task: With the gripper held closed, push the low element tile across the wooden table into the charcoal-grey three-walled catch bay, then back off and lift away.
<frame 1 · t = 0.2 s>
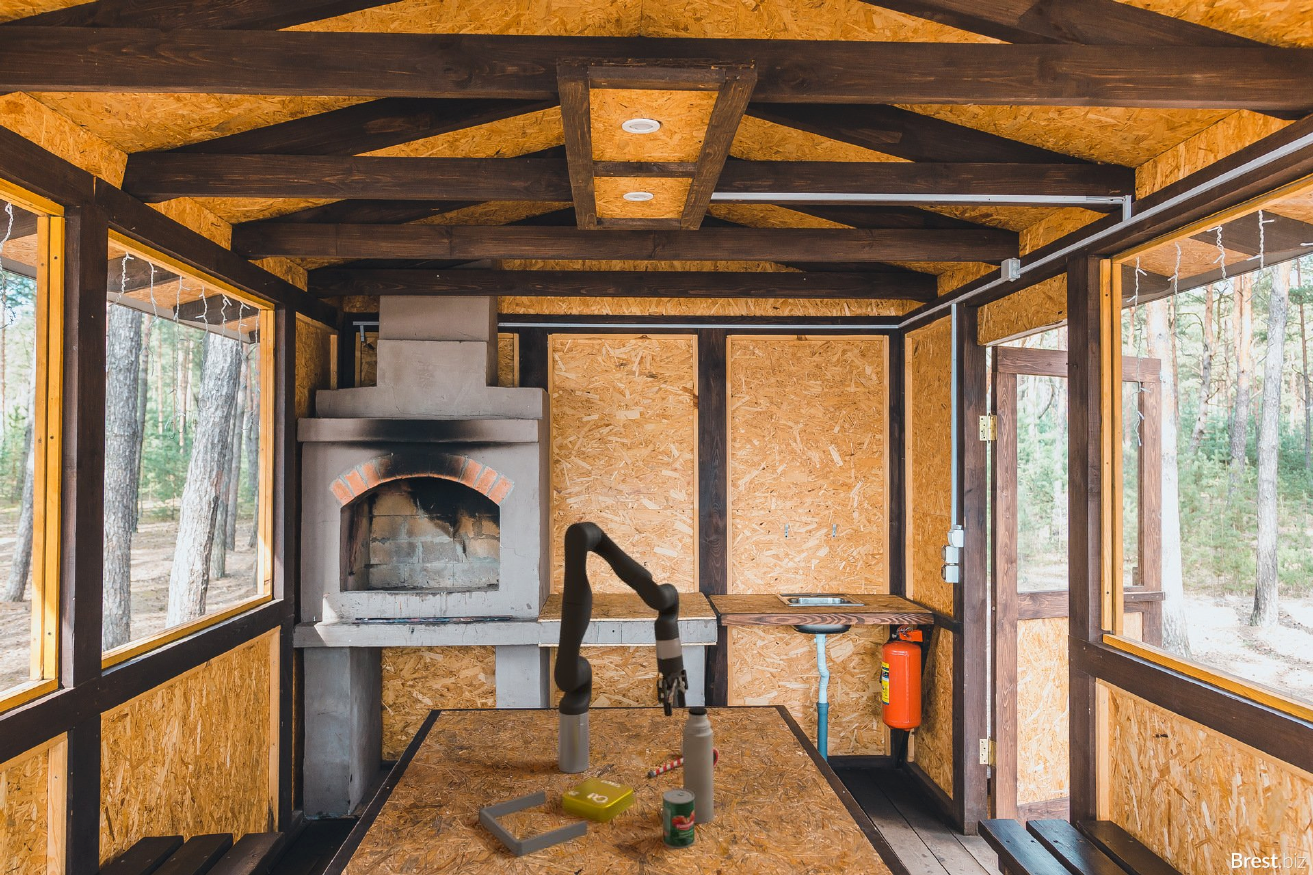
hand: (675, 711, 219), 22 cm above the table, fingers open, 8 cm apart
catch bay: (531, 827, 196), on the table
element tile: (598, 808, 208), on the table
thermos bottle: (698, 817, 202), on the table
canned tomato: (678, 841, 189), on the table
toy hammer: (685, 768, 235), on the table
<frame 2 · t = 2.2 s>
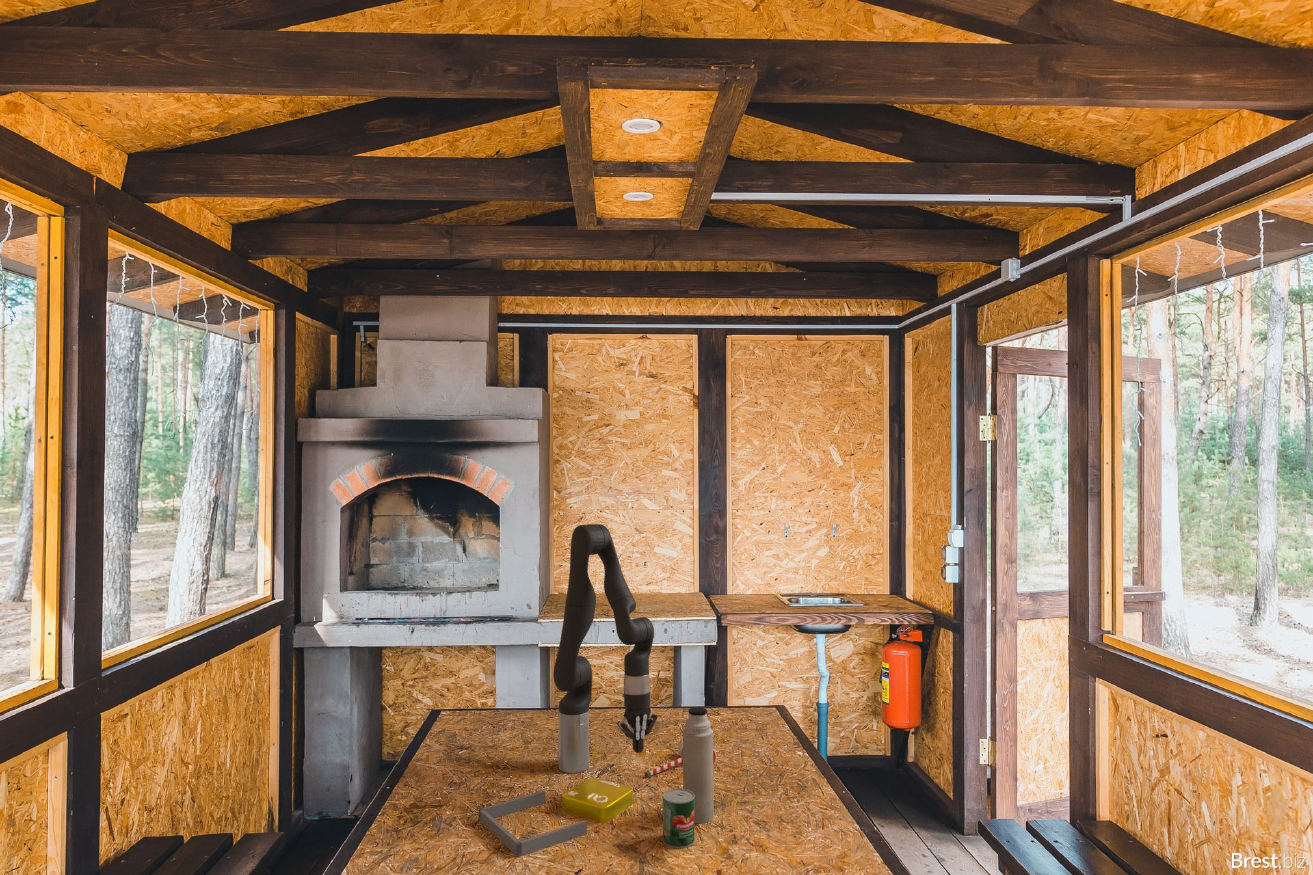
hand: (638, 751, 216), 12 cm above the table, fingers closed
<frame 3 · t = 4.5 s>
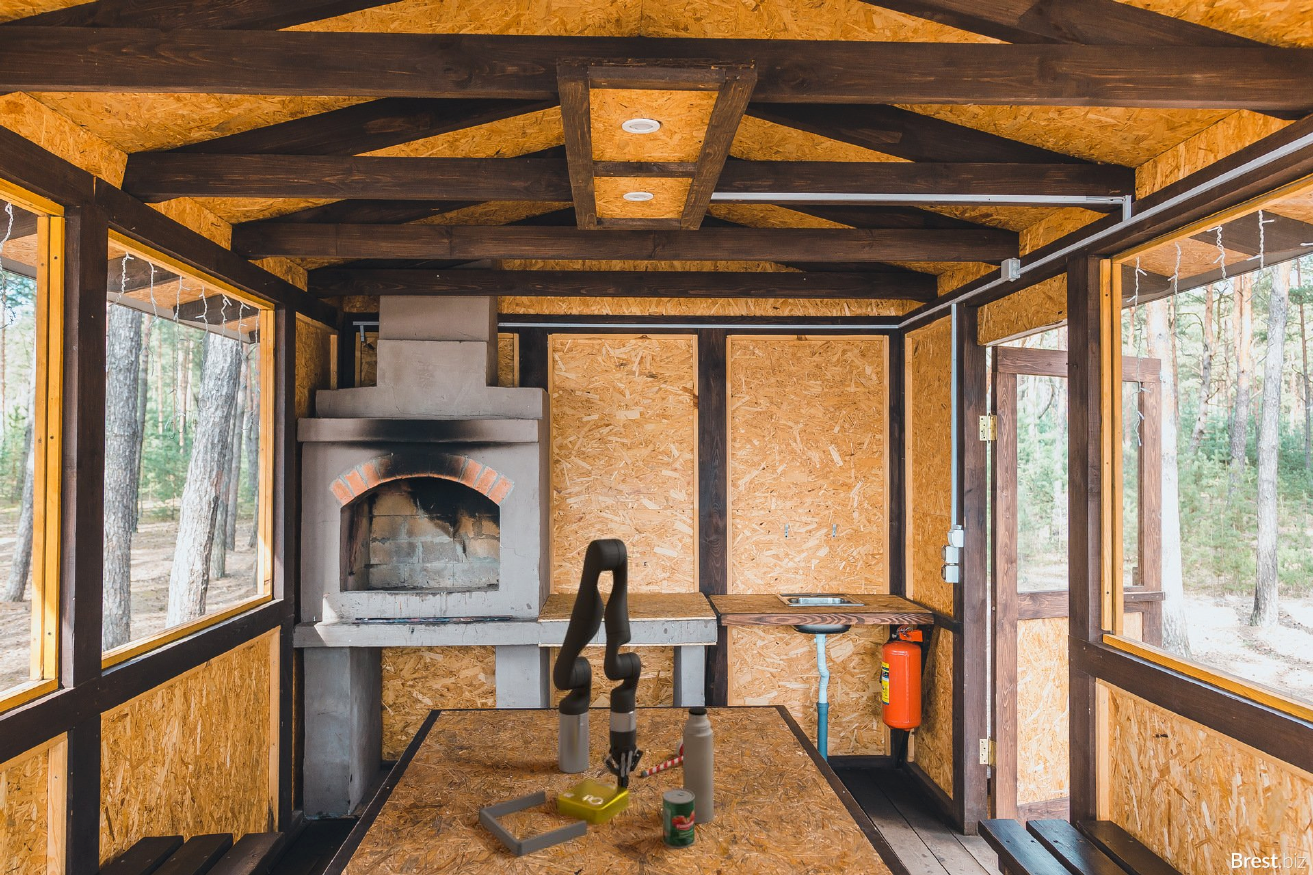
hand: (623, 788, 213), 3 cm above the table, fingers closed
element tile: (593, 809, 207), on the table, touching gripper
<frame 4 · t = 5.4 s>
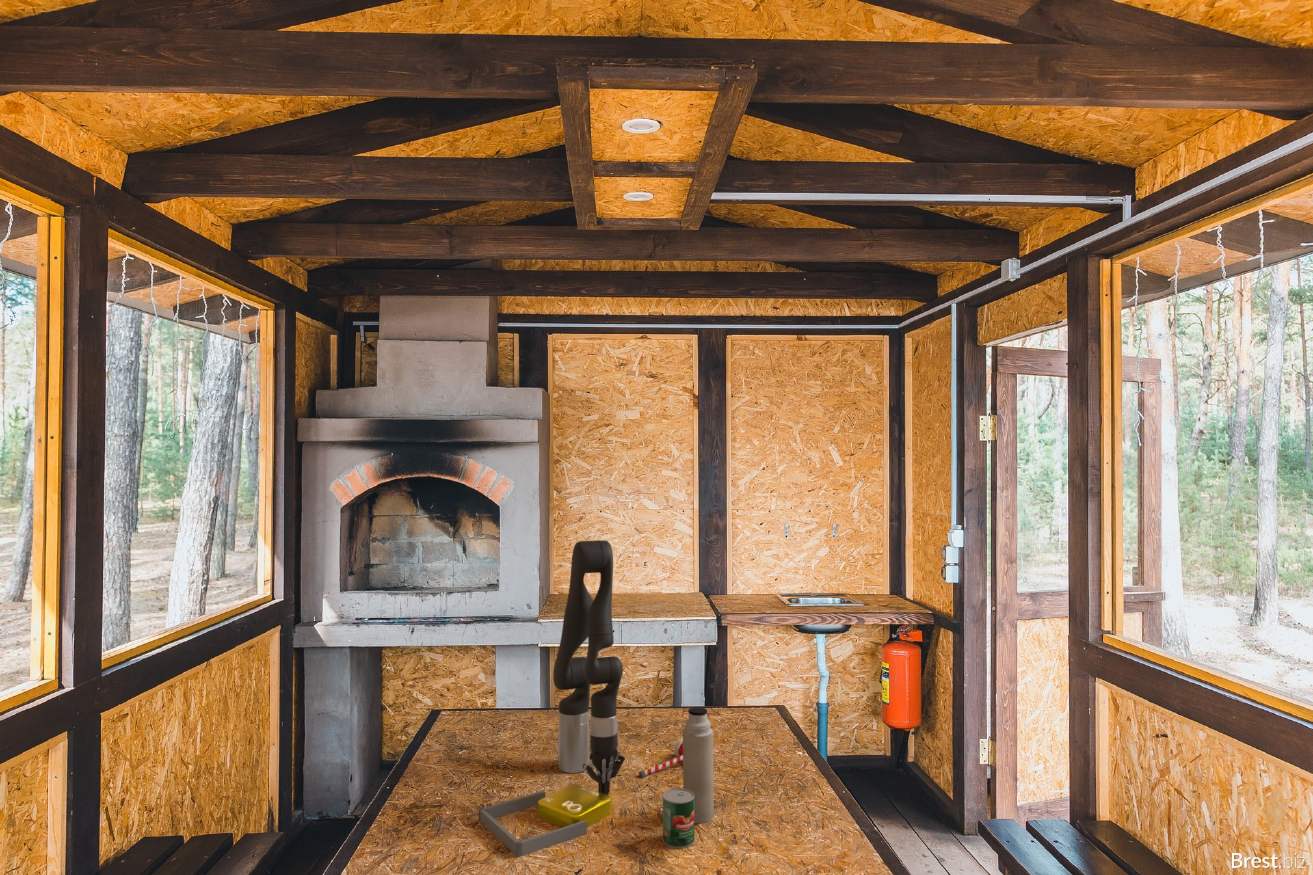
hand: (604, 794, 209), 3 cm above the table, fingers closed
element tile: (574, 816, 203), on the table, touching gripper
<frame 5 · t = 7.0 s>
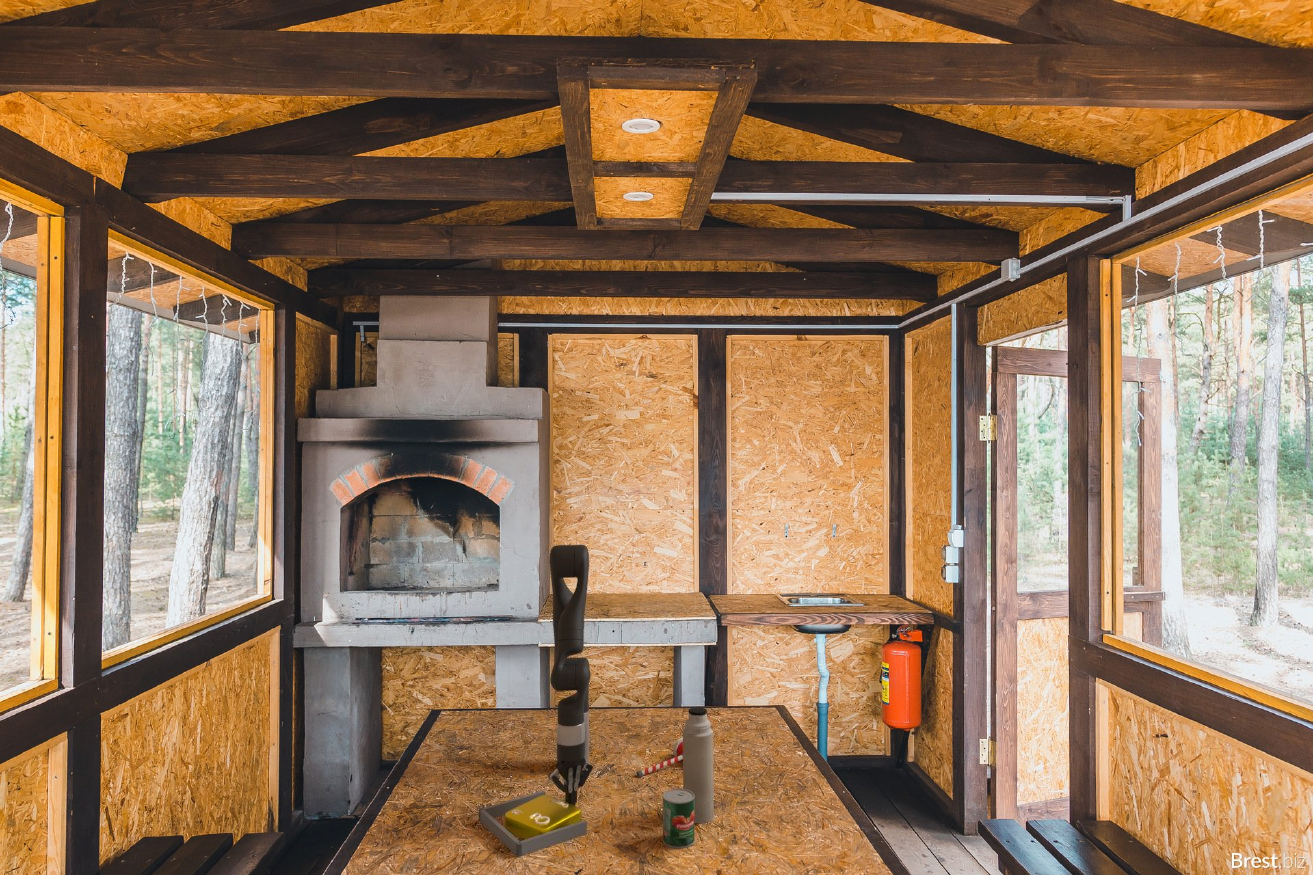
hand: (571, 804, 203), 3 cm above the table, fingers closed
element tile: (543, 828, 196), on the table
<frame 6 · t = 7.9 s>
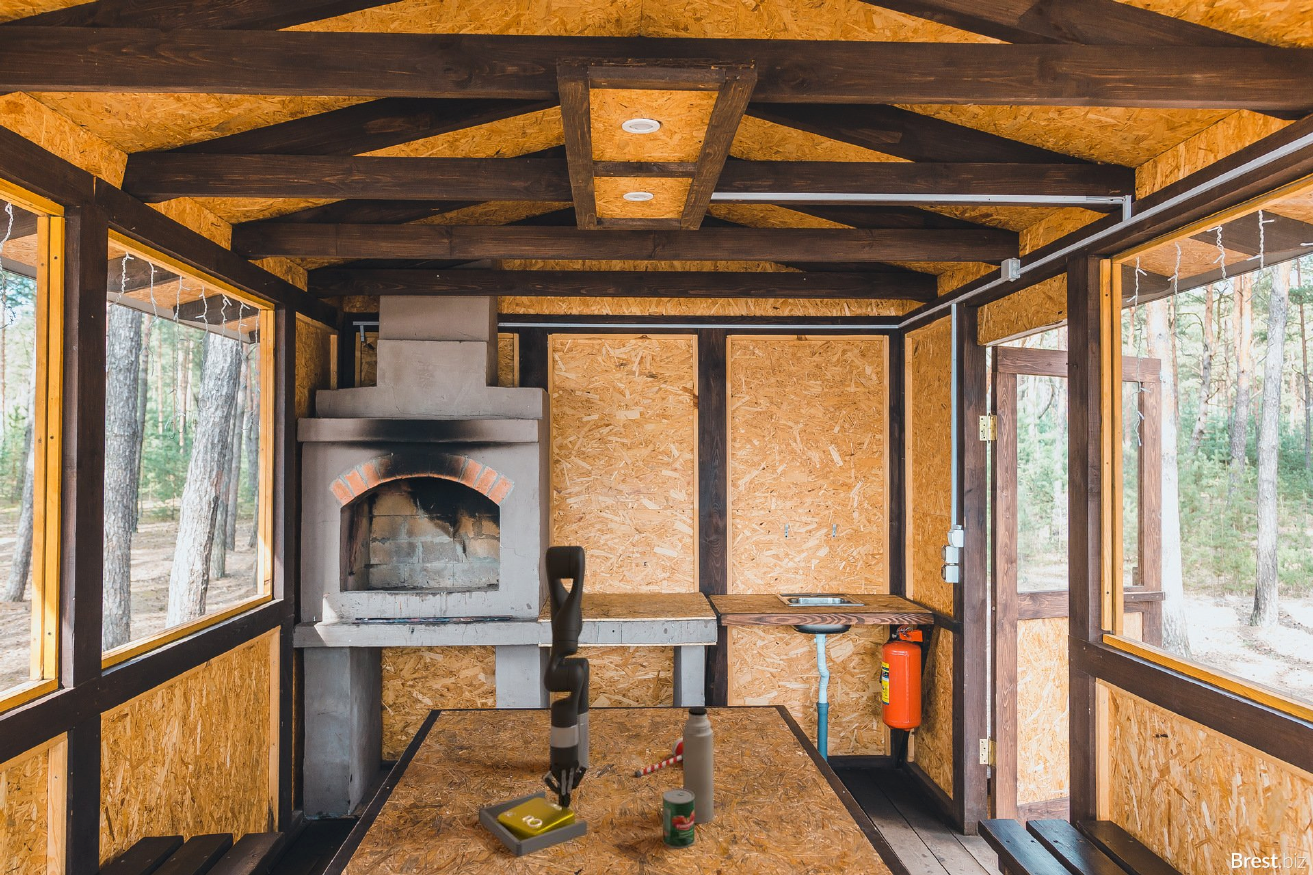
hand: (564, 807, 202), 3 cm above the table, fingers closed
element tile: (536, 831, 195), on the table
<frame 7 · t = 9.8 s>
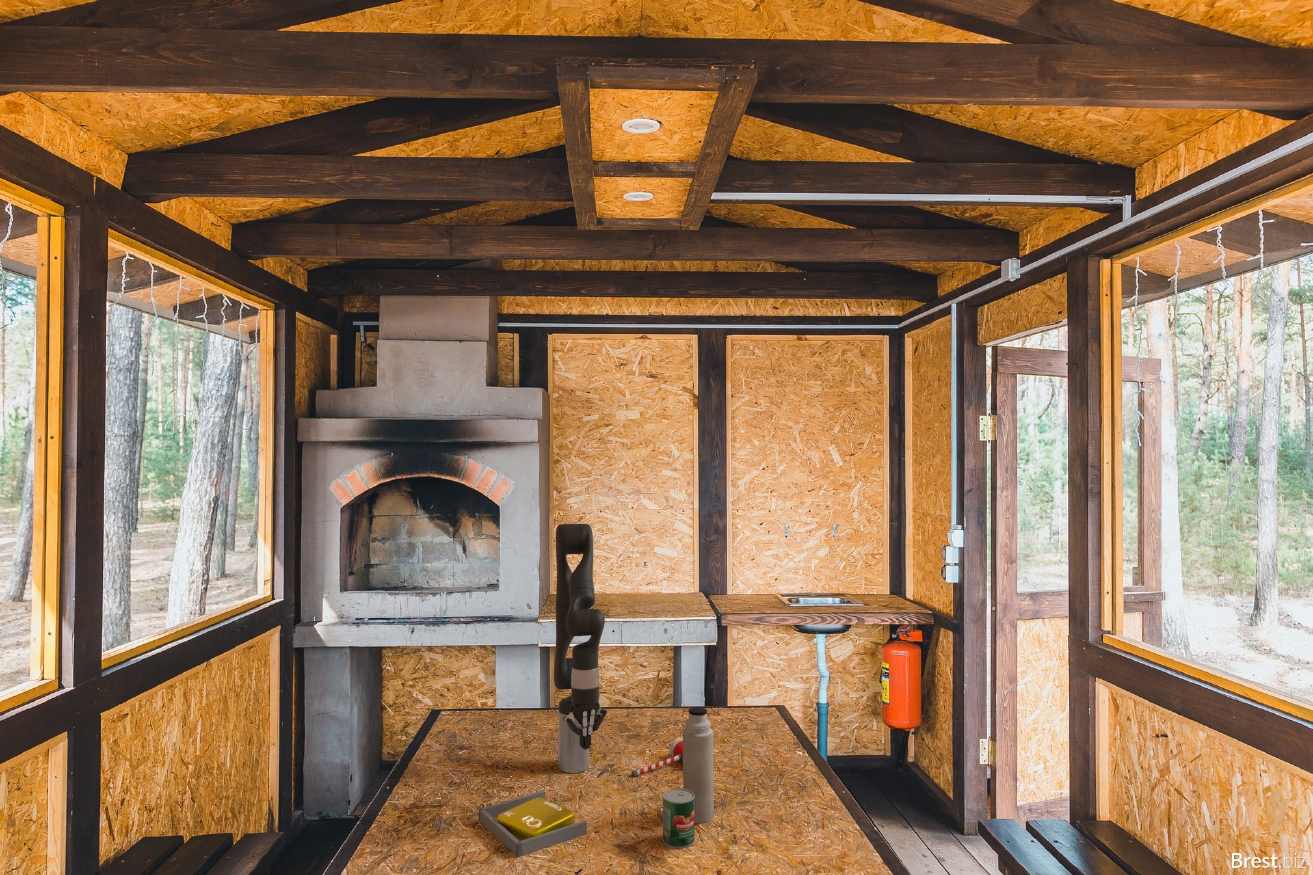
hand: (585, 748, 206), 16 cm above the table, fingers closed
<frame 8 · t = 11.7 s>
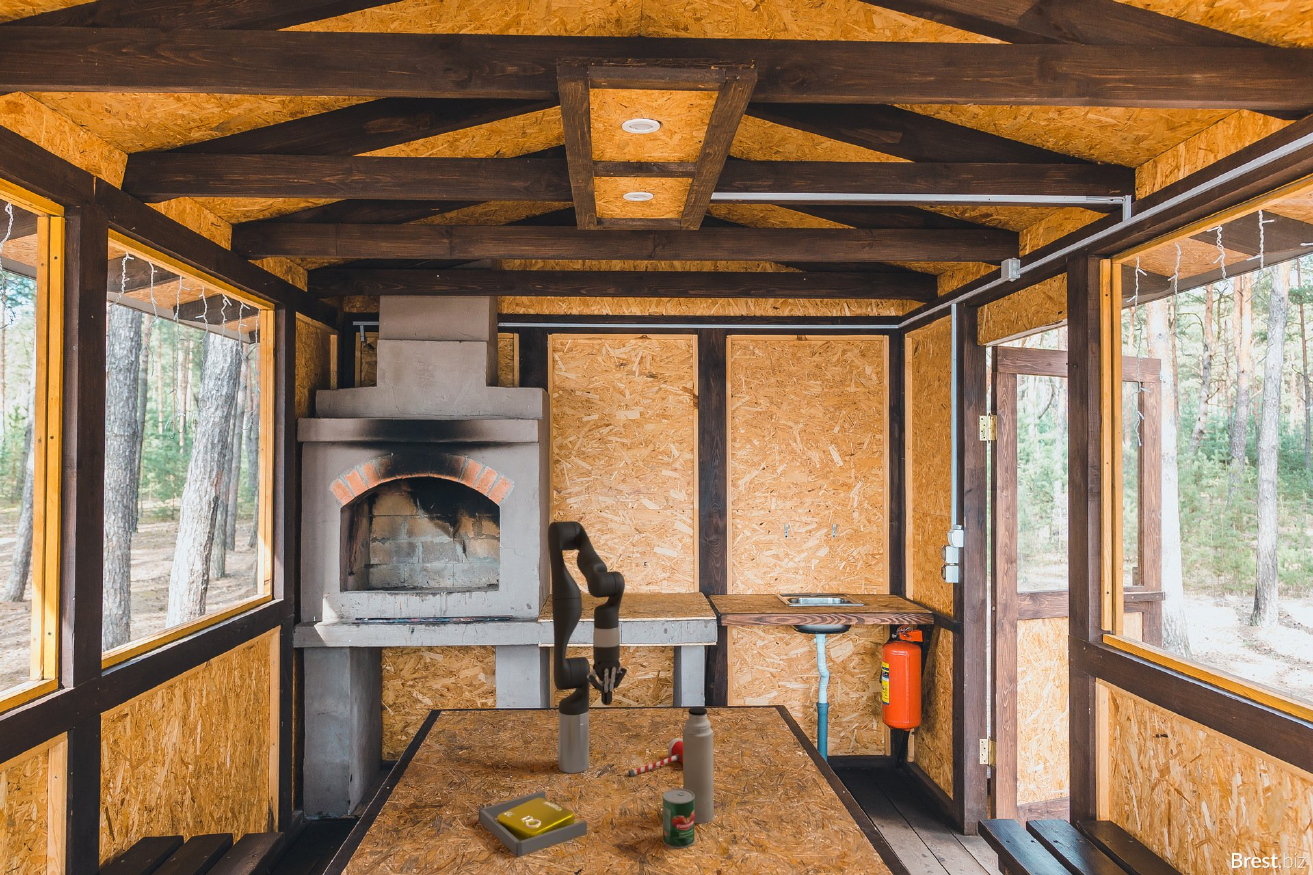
hand: (606, 704, 216), 25 cm above the table, fingers closed
at the end: element tile inside the target area on the catch bay (3.3 cm from its centre), point -0.5 cm above the catch bay's base; element tile moved 19.9 cm from its start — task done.
